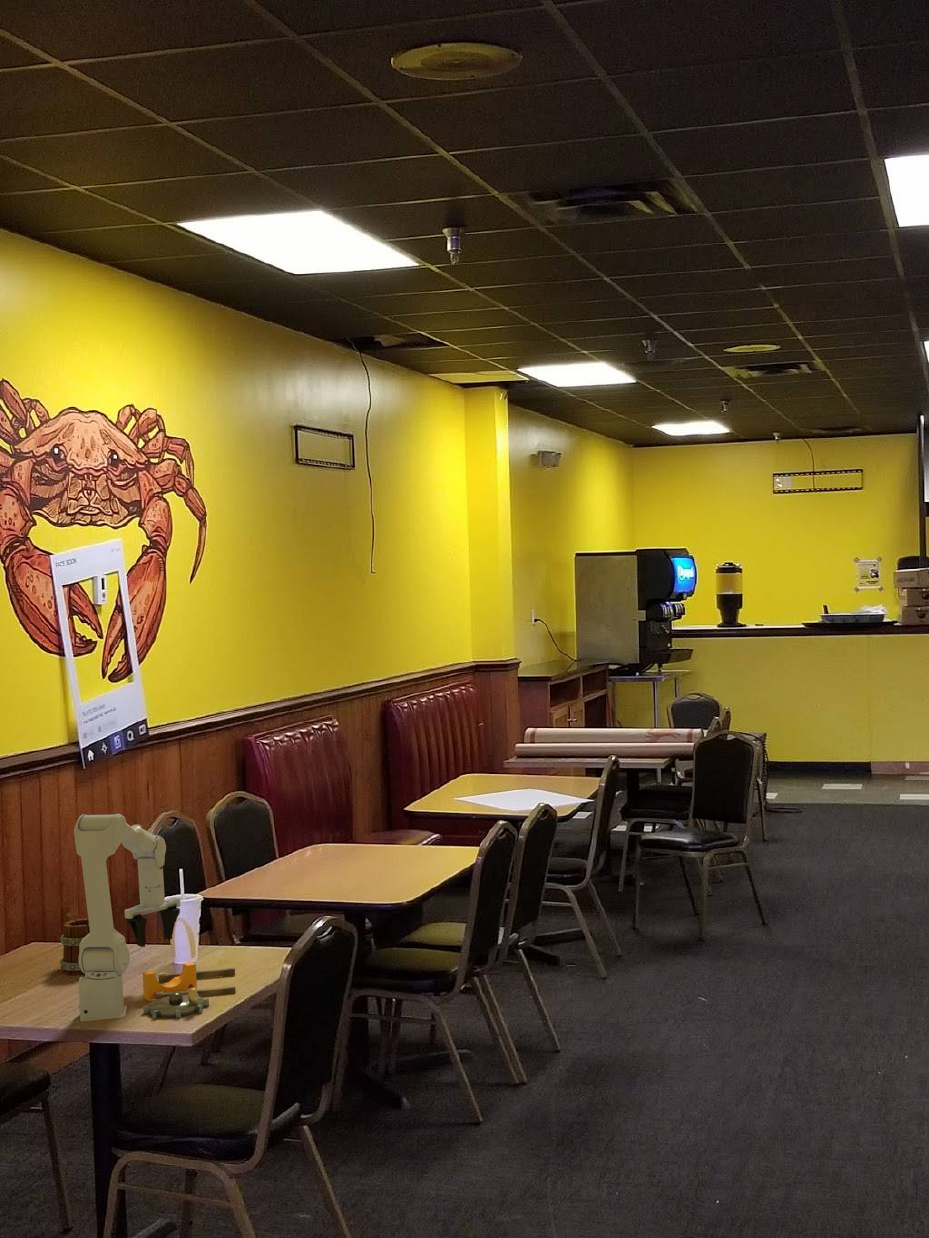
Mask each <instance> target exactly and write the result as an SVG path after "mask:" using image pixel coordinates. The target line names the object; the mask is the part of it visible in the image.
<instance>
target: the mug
mask: <svg viewBox="0 0 929 1238" xmlns="http://www.w3.org/2000/svg"><path fill="white" fill-rule="evenodd" d="M64 917H65V920H66V921H65V923H64V924H63V934H62V935H60V944H61V945H63V951H62V952H63V953H62V954H63V955H62V958H61V959H60V961H59V963H60V964H59V966H60V969H61V970H62V973H63V974H65V975H68V976H70V975H72V976H83V975H84V976H85V973H83V972H82V971H81V969H80V967H79V951H80V948H79V944H80V942H81V940H82V939H83V938H84V937H85V936H87V935H88V934H89V933H90V928H89V919H88V918H80V919H76V920H75V918H74V916H73V913H71V912H68V913H65V915H64Z"/></svg>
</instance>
